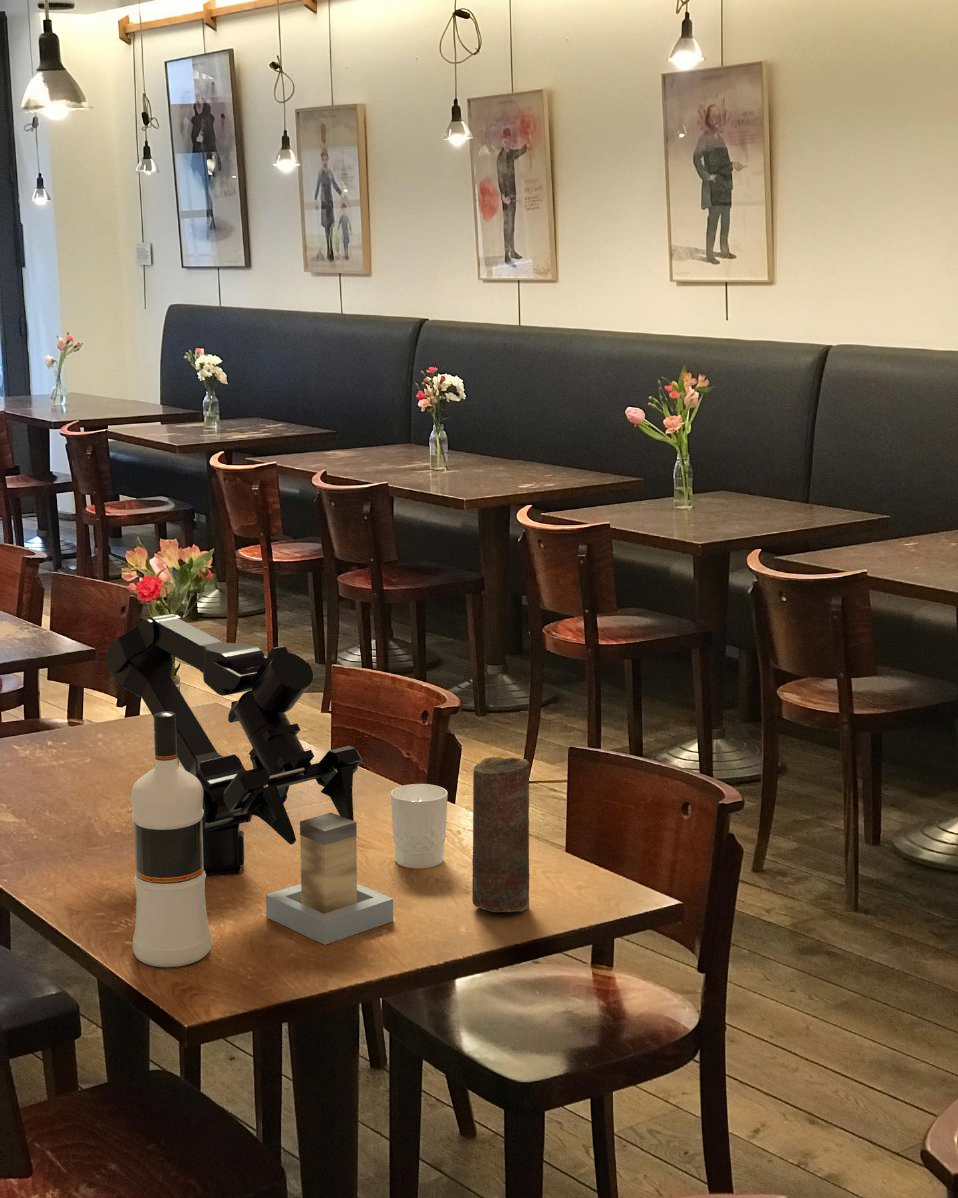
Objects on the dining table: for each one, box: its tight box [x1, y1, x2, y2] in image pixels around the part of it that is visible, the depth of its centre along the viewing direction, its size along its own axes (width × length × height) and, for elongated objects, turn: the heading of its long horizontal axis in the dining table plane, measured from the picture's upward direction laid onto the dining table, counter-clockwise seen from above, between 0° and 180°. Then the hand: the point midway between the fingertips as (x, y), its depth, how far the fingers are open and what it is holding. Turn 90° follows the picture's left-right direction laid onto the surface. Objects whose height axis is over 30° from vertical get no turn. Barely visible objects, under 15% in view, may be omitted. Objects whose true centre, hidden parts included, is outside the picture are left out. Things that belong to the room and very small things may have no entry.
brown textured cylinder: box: [471, 756, 530, 913], centre depth 205 cm, size 8×7×20 cm
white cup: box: [390, 783, 448, 870], centre depth 223 cm, size 8×8×10 cm
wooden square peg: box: [299, 812, 358, 914], centre depth 202 cm, size 5×5×13 cm
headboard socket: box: [265, 883, 394, 946], centre depth 203 cm, size 12×11×3 cm
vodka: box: [130, 712, 212, 969], centre depth 189 cm, size 9×9×30 cm
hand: (322, 834), depth 202 cm, fingers open, 9 cm apart
